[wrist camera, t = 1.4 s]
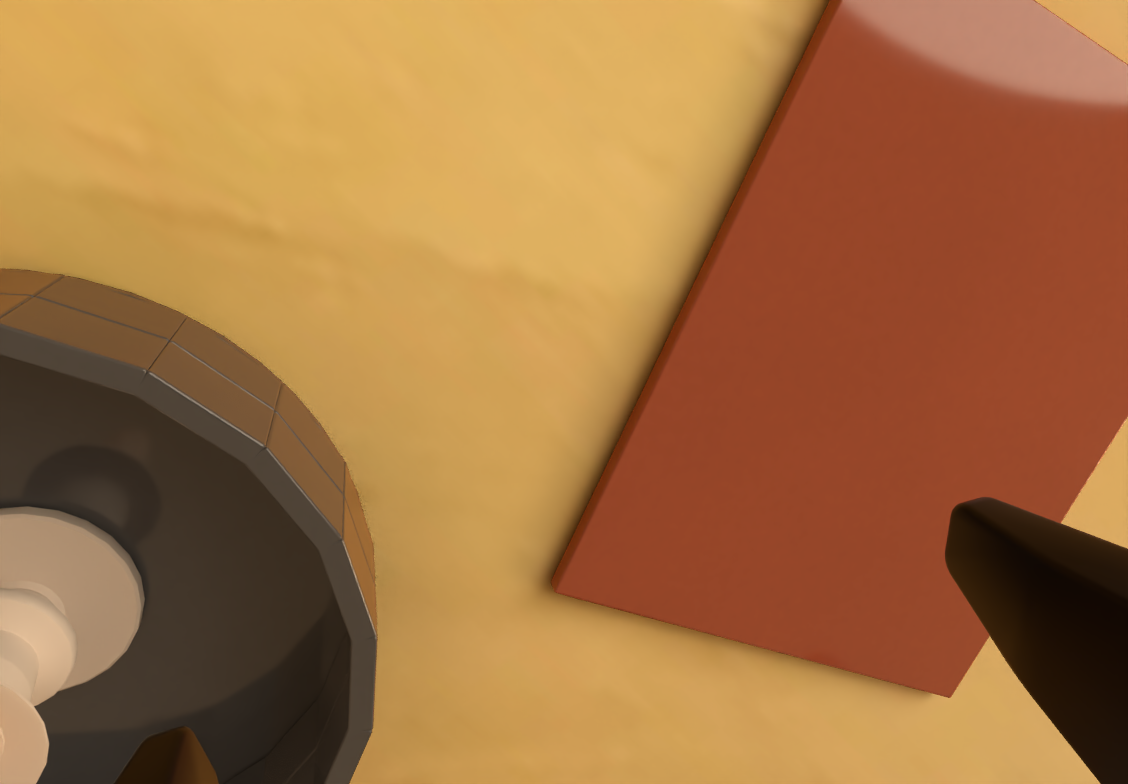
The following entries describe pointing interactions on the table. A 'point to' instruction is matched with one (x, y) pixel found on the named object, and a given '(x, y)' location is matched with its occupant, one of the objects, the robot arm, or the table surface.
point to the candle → (56, 621)
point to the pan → (192, 536)
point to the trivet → (882, 343)
